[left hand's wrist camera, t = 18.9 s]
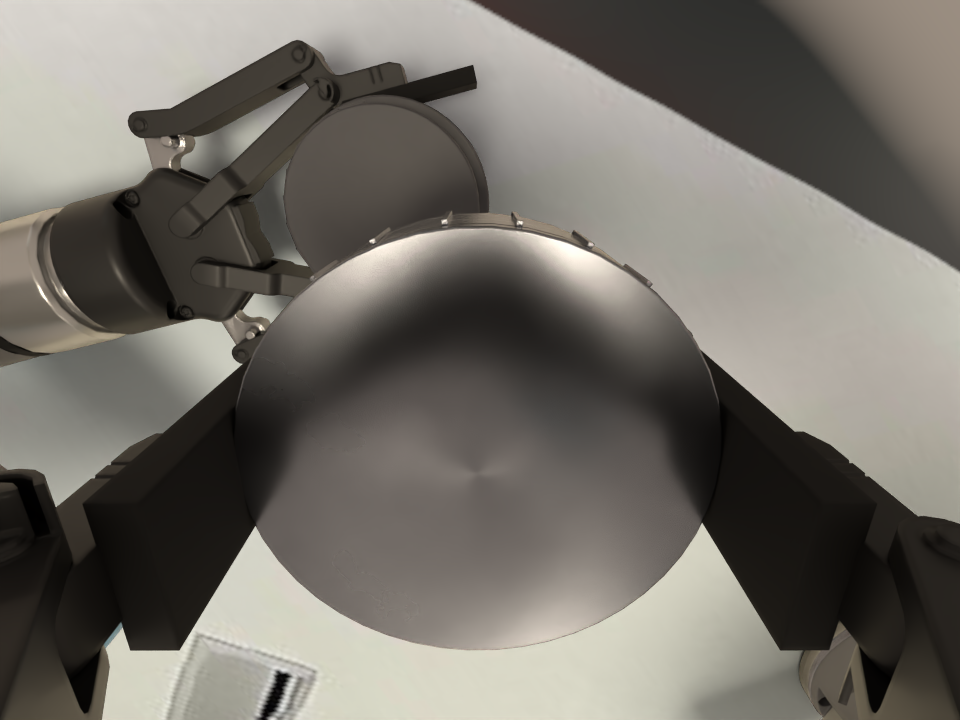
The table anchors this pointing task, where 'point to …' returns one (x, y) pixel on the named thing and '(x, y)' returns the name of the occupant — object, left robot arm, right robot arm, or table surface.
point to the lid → (478, 434)
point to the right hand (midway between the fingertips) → (494, 170)
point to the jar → (377, 175)
